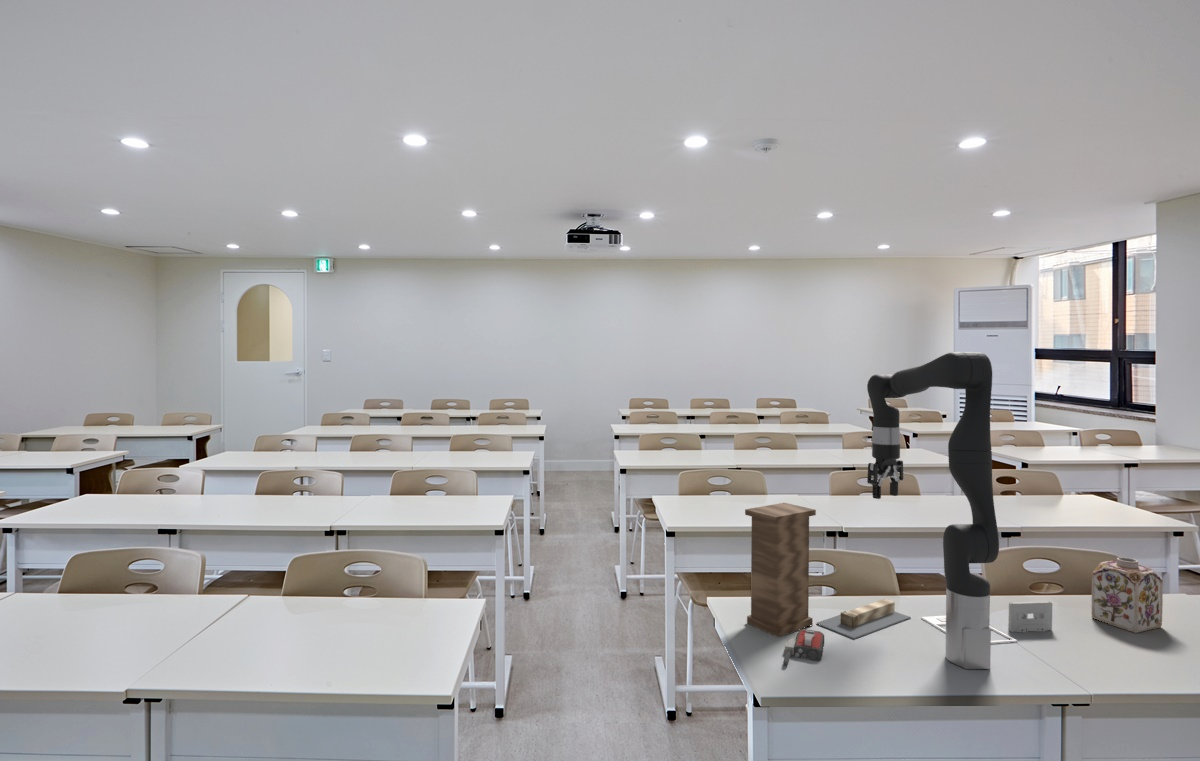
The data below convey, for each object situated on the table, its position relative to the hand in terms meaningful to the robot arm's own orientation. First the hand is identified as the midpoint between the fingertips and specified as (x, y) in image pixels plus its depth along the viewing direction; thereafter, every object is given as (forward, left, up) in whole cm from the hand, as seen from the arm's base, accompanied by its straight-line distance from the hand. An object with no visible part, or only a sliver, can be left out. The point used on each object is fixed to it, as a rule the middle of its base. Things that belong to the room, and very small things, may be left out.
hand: (885, 496), depth 190 cm
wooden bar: (-9, +8, -33) cm, 35 cm away
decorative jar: (-9, -63, -33) cm, 72 cm away
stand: (-13, +34, -33) cm, 49 cm away
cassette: (-15, -33, -33) cm, 49 cm away
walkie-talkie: (-31, +32, -34) cm, 56 cm away
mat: (-10, +10, -33) cm, 36 cm away
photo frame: (-15, -16, -34) cm, 40 cm away
